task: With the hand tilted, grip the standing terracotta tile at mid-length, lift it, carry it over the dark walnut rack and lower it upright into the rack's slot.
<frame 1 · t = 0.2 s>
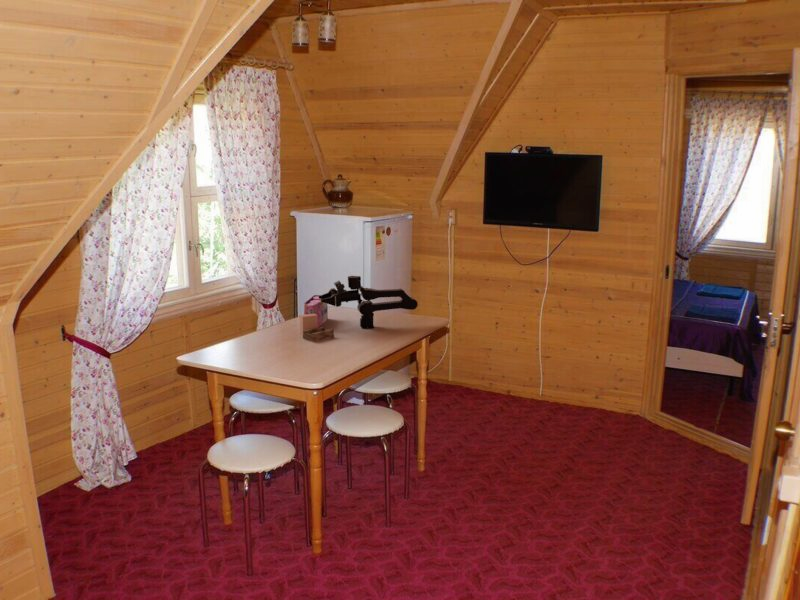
hand: (319, 298, 388), 17 cm above the table, tool horizontal, fingers open, 9 cm apart
gum box: (316, 323, 405), on the table
walnut rack: (318, 337, 375), on the table
terracotta tile: (309, 333, 383), on the table
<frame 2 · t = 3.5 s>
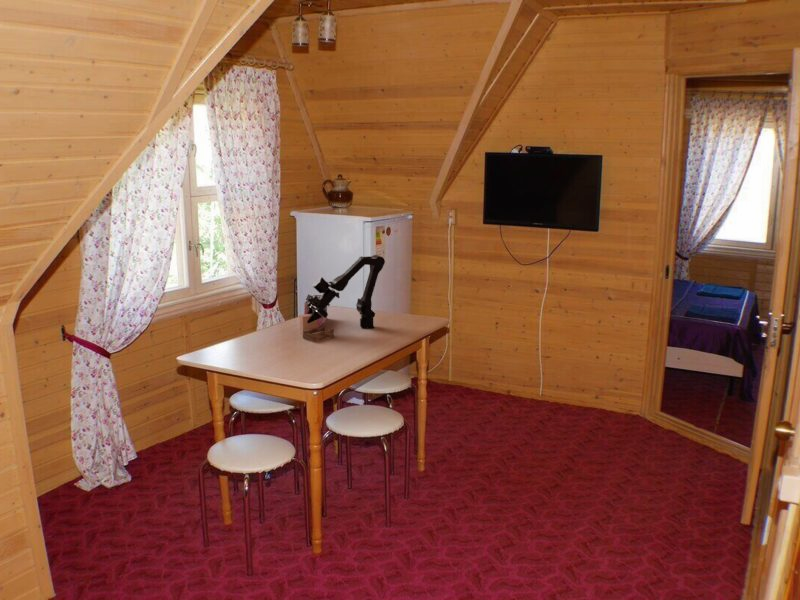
hand: (306, 321, 381), 7 cm above the table, tool tilted 45°, fingers closed on terracotta tile, 4 cm apart
terracotta tile: (308, 333, 383), on the table, touching gripper
everything else where it was.
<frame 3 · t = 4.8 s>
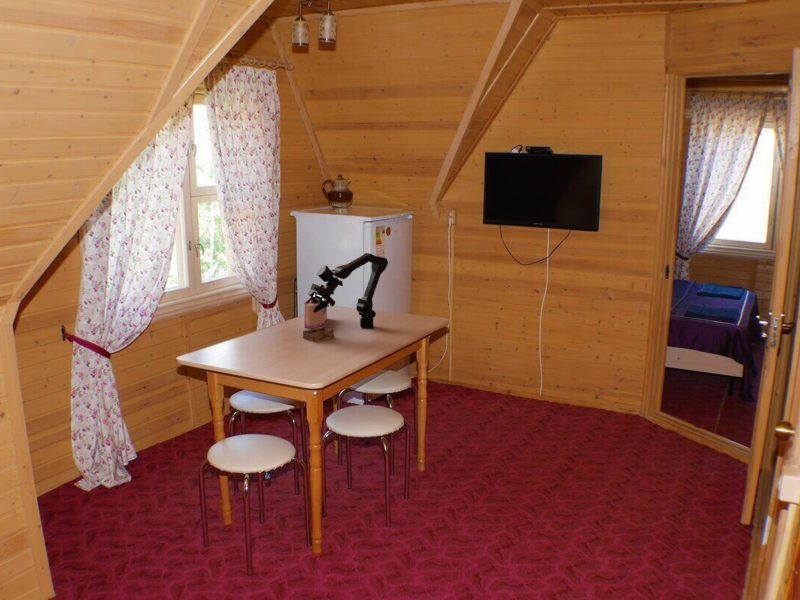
hand: (311, 311, 374), 13 cm above the table, tool tilted 45°, fingers closed on terracotta tile, 4 cm apart
terracotta tile: (314, 323, 376), point 7 cm above the table, touching gripper
everything else where it was.
when the fingers open (9 cm above the table, at t = 6.4 s): terracotta tile drops 1 cm, resting on walnut rack.
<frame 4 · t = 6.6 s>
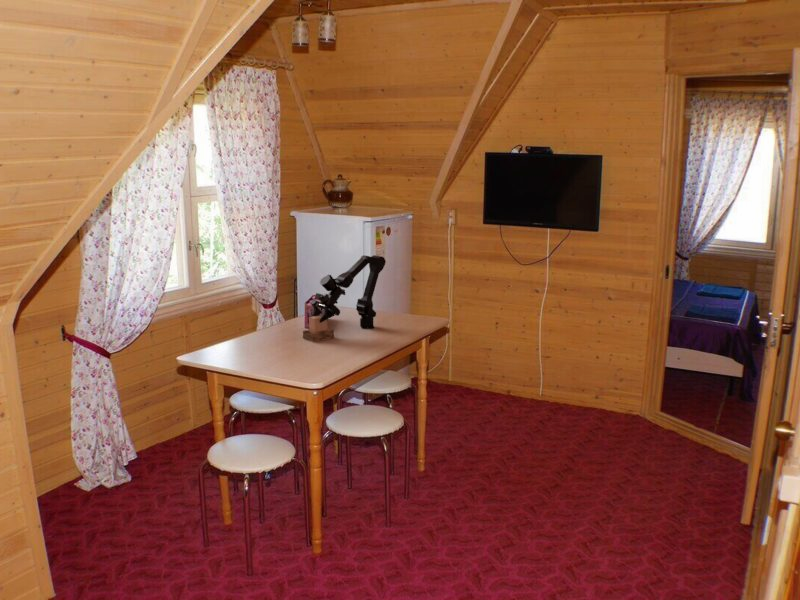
hand: (316, 321, 372), 9 cm above the table, tool tilted 45°, fingers open, 6 cm apart
terracotta tile: (318, 335, 375), point 1 cm above the table, touching walnut rack
everything else where it was.
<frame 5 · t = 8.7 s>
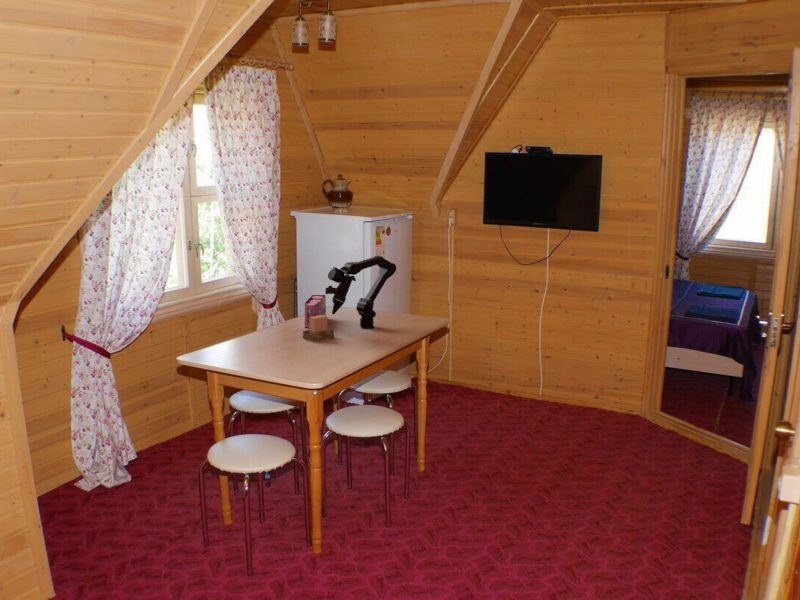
hand: (333, 314, 381), 10 cm above the table, tool tilted 25°, fingers open, 9 cm apart
nothing on the table moved.
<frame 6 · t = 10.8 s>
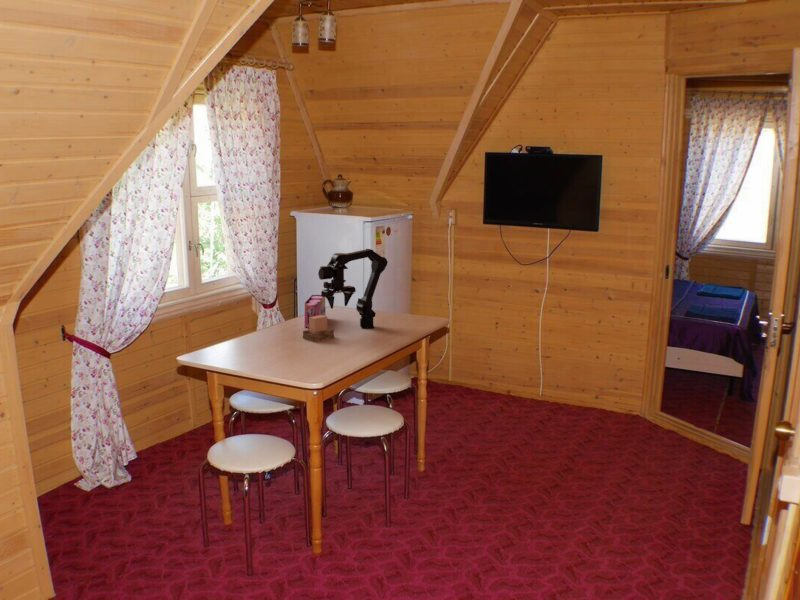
hand: (338, 307, 385), 13 cm above the table, tool pointing down, fingers open, 9 cm apart
nothing on the table moved.
at the end: terracotta tile 0.1 cm off-centre on the walnut rack, point 1.0 cm above the walnut rack's base; terracotta tile tilted 0°; the gripper is holding nothing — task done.
